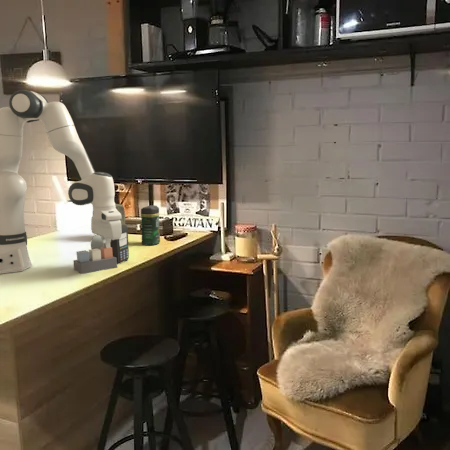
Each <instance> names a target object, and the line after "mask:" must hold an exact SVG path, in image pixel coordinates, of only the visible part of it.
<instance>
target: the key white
mask: <svg viewBox="0 0 450 450" xmlns="http://www.w3.org/2000/svg"><path fill="white" fill-rule="evenodd" d="M88 252H89V260H92V261H94V260H100V259H101V250H100V249H88Z"/></svg>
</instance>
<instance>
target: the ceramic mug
mask: <svg viewBox="0 0 450 450" xmlns="http://www.w3.org/2000/svg"><path fill="white" fill-rule="evenodd" d="M100 247H103V242H102V239H101V236H100V235H97V234H95V235H94V236H93V237H92V239H91V241H90V248H91V249H100ZM110 247H111V245H110ZM91 249H90V250H91Z"/></svg>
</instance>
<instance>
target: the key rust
mask: <svg viewBox="0 0 450 450" xmlns="http://www.w3.org/2000/svg"><path fill="white" fill-rule="evenodd" d="M100 250H101V258H104V259H106V258H112V257H113V252H112V247H110V248H106V247H100Z"/></svg>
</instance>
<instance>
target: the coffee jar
mask: <svg viewBox="0 0 450 450" xmlns="http://www.w3.org/2000/svg"><path fill="white" fill-rule="evenodd" d="M140 219H141V244H142V245H145V246H152V245H153V246H155V245H158V244H159V243H161V234H160V208H159V207H158V206H157V205H154V204H153V205H152V204H149V205H148V206H144V207H142V208H141V209H140Z"/></svg>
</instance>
